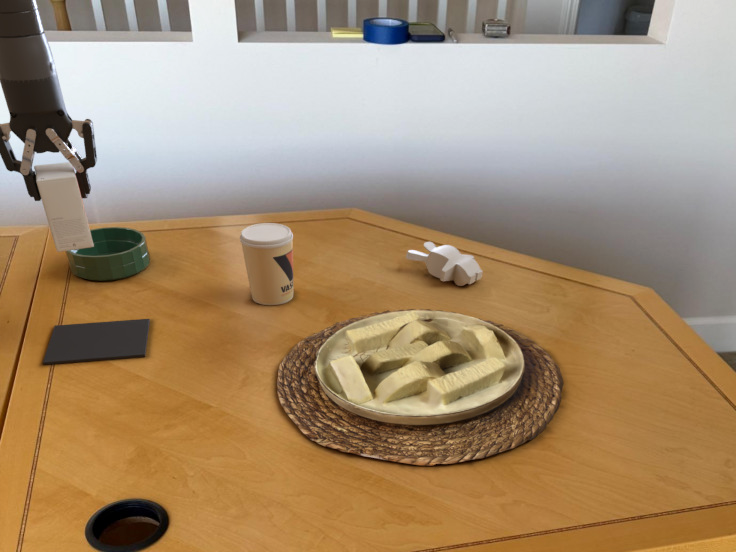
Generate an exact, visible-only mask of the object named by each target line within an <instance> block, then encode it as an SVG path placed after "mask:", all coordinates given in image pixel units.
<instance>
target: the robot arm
mask: <svg viewBox="0 0 736 552" xmlns="http://www.w3.org/2000/svg"><path fill="white" fill-rule="evenodd" d="M51 49H52V48H51V46H50V43H49V41H48V38H47V35H46V32H45V28H44V25H43V21H42V16H41V12H40V9H39V5H38V2H37V0H0V86H1V89H2V94H3V96H4V100H5V102H6V106H7V110H8V113H9V122H3V123H0V158H1V159H2V162H3V164H4V167H5V169H6V170H7V171H9V172H11V173H12V172H15V173H19V174H20V175H21V176H22V178H23V180H24V184H25V187H26V191H27V194H28V195H29V198H33V199H34V201H35V202H41V201H42V199H41V196H40V192H39V189H38V186H37V182H36V173H35V170H33V165H34V164H33V163H34V158H35V155H36V154H44V153H47V152H49V153H53V154H54V153H57V154H58V153H61V155H62V156H63V157H64V159H66V160H67V162H70V163H71V164H72V166H73V168H74V171H75V174H76V178H77V182H78V185H79V189H80V193H81V197H82V199H88V196H89V195H90V194H91V190H92V186H91V181H90V178H89V173H88V169H91V168H95V166H96V164H97V162H98V156H97V155H98V154H97V147H96V139H95V131H94V122H93V120H92V119H91V118H86V119H84V120H76V119H73V118H72V117H71V116H70V115H69V113H68V111H67V108H66V104H65V101H64V99H65V98H64V96H63V92H62V88H61V83H60V79H59V76H58V71H57V68H56V64H55V59H54V56H53V52H52V50H51ZM73 130H75V131H76V132H77V134H78V136H79V138H82V139H83V144H84V145H83V146H84V153H85V157H82V156H81V154H80V153H79V152H78V150H77V148H76V147H75V144H73V142H72V140H71V139H70V136H71V134H72V131H73ZM11 132H12V133H13V134H14V135H15V136H16V137H17V138H18V139H19V140H20V141H21V142H22V143H23V144H24V145H23V146H24V147H23V151H22V155H21V160H19V159H17V157H16V154H15V153H14V150H13V148H12V146H11V142H10V139H11V136H12V135H11Z"/></svg>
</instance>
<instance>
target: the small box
mask: <svg viewBox="0 0 736 552" xmlns="http://www.w3.org/2000/svg"><path fill="white" fill-rule="evenodd" d="M33 169H34V171H35V174H36V182H37V186H38V189H39V192H40V196H41V202H42V203H41V204H42V206H43V209H44V213H45V216H46V219H47V223H48V226H49V230H50V233H51V236H52V240H53V243H54V246H55V249H56V252H57V253H61V252H65V251H69V250H76V249H83V248H90V247H94V244H93V240H92V236H91V232H90V230H91V228H90V225H89V221H88V220H89V219H88V217H87V214H86V209H85V204H84V201H83V200H84V199H83V198H82V197H81V193H80V189H79V185H78V182H77V178H76V174H75V173H76V170H75V168H74V167H73V166H72V164H71V163H70V162H69V161H66V162H57V163H46V164H45V163H44V164H36V165H34V166H33Z"/></svg>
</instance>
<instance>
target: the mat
mask: <svg viewBox="0 0 736 552" xmlns="http://www.w3.org/2000/svg"><path fill="white" fill-rule="evenodd" d="M150 322H151V319H150V318H140V319H126V320H125V319H123V320H112V321H99V322H85V323H84V322H83V323H72V324H59V325H58V324H57V325H54V326H53V330H52V332H51V336H50V338H49V342H48V345H47V348H46V351H45V354H44V358H43V361H42V364H43V366H49V365H61V364H73V363H86V362H87V363H88V362H99V361H100V362H101V361H111V360H123V359H125V360H126V359H137V358H145V357H146V354H147V346H148V338H149V331H150V324H151V323H150Z"/></svg>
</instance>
